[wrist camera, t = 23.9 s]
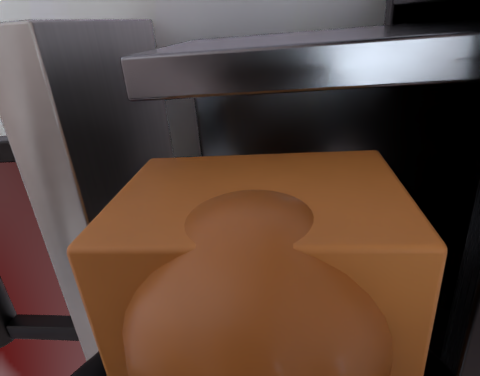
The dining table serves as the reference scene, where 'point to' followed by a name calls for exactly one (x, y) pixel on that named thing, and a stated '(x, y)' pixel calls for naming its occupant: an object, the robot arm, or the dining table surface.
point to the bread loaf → (261, 269)
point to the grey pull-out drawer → (232, 122)
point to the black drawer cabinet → (476, 247)
